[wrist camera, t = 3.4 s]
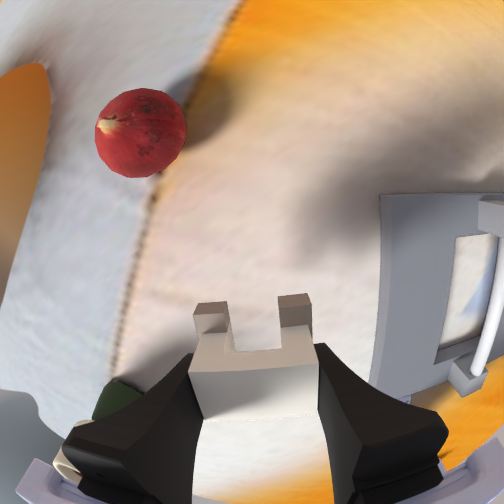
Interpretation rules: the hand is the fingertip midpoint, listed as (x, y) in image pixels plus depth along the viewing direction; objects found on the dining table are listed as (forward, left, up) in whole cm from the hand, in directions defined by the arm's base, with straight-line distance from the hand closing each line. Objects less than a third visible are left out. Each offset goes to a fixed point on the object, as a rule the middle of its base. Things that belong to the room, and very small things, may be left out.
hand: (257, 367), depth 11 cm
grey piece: (-4, -21, -10) cm, 24 cm away
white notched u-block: (0, 0, -2) cm, 2 cm away
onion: (+12, +6, -10) cm, 17 cm away
